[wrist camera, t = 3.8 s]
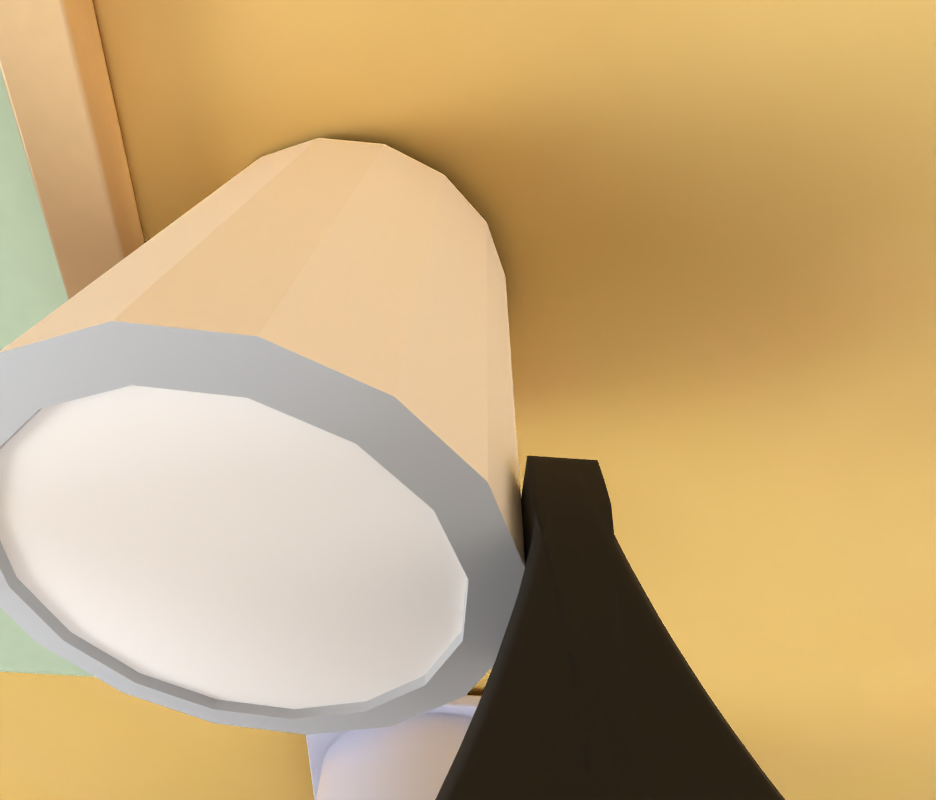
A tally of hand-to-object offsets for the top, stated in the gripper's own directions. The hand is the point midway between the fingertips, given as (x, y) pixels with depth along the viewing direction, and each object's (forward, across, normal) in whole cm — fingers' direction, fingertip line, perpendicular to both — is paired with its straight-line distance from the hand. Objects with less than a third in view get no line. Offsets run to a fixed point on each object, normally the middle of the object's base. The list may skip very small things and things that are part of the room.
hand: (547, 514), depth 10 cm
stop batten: (+6, +8, 0) cm, 10 cm away
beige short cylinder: (+6, +3, 0) cm, 7 cm away
